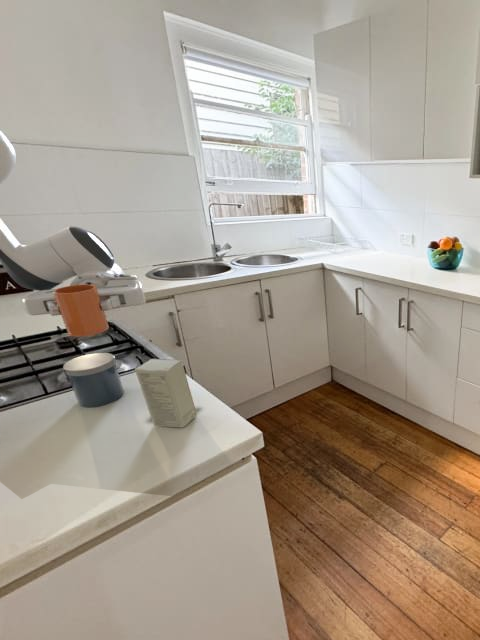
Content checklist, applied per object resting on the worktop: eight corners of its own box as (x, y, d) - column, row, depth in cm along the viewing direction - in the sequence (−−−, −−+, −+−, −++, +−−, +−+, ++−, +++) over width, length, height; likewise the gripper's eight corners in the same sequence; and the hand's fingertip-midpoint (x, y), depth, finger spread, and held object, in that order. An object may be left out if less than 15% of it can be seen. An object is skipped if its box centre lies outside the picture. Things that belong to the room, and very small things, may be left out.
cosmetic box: (197, 415, 74) (184, 359, 69) (182, 429, 70) (167, 371, 65) (167, 412, 75) (152, 357, 70) (150, 426, 71) (133, 368, 66)
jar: (69, 401, 77) (54, 364, 74) (112, 384, 84) (101, 349, 81) (90, 412, 74) (76, 374, 71) (133, 393, 81) (122, 358, 77)
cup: (62, 332, 78) (46, 290, 74) (98, 322, 83) (85, 282, 80) (79, 339, 75) (63, 295, 72) (115, 328, 81) (103, 287, 77)
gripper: (30, 282, 82) (4, 299, 71) (144, 274, 91) (136, 289, 80) (41, 309, 84) (17, 331, 73) (150, 299, 93) (144, 317, 82)
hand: (80, 309), depth 76 cm, fingers closed on cup, 7 cm apart
